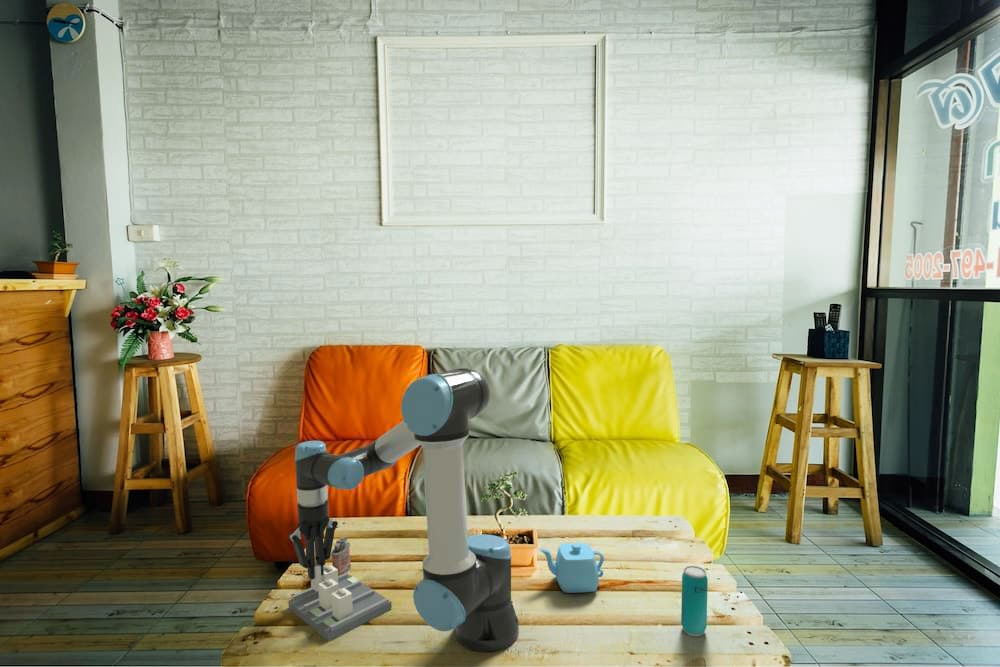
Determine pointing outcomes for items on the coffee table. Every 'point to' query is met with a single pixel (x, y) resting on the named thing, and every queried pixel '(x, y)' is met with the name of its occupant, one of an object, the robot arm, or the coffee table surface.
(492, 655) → the coffee table surface
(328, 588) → the white rectangular block
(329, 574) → the white hollow block
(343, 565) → the lighter
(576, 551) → the teapot
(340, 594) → the white hollow block
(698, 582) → the beverage can
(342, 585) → the grey slotted block holder
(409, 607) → the coffee table surface
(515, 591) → the coffee table surface
